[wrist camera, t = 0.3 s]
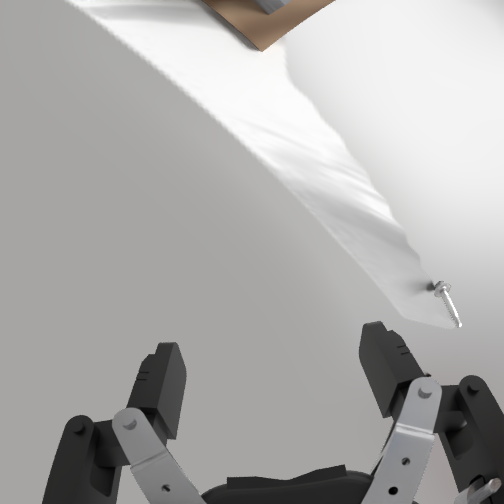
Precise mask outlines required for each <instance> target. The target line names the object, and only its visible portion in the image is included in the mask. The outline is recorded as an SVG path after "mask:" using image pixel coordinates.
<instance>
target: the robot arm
mask: <svg viewBox="0 0 504 504" xmlns="http://www.w3.org/2000/svg"><path fill="white" fill-rule="evenodd" d="M359 358H360V362H361V365H362V367H363V369H364V372H365V374H366V377H367V379H368V381H369V384H370V386H371V389H372V391H373V394H374V396H375V398H376V401H377V404H378V406H379V409H380V411H381V413H382V416H383V418H387V417H390V416H392V418H393V420H394V422H393V424H392V426H391V429H390V431H389V434H388V436H387V438H386V441H385V443H384V445H383V448H382V450H381V452H380V454H379V456H378V459H377V460H376V462H375V464H374V466H373V468H372V470H371V471H370V473H369V474H366V473H363V472H358V471H347V470H346V468H345V465H339V466H334V467H329V468H324V469H319V470H315V471H312V472H310V473H307V474H304V475H301V476H299V477H296V478H293V479H290V480H278V479H270V478H263V477H256V476H255V477H227V484H223V485H220V486H217V487H214V488H212V489H210V490H208V491H207V492H205V493H203V494H201V493H200V492H199V491H198V489H197V488H196V487H195V486H194V485H193V483H192V482H191V481H190V480H189V478H188V477H187V476H186V474H185V473H184V472H183V470H182V469H181V468H180V466H179V465H178V464H177V462H176V461H175V460H174V458H173V457H172V455H171V454H170V452H169V451H168V449H167V448H166V444H167V439H176V436H177V429H178V423H179V418H180V411H181V405H182V400H183V395H184V389H185V384H186V368H185V364H184V361H183V359H182V356H181V353H180V350H179V347H178V344H177V343H176V342H172V343H159V344H158V347H157V349H156V353H155V354H149V355H148V356H147V357H146V358H145V359H144V361H143V362H142V363H141V366H140V369H139V373H138V375H137V377H136V381H135V383H134V386H133V389H132V392H131V395H130V398H129V401H128V404H127V407H126V408H125V409H122V410H121V411H119V412H118V413H117V414H116V415H115V416H114V418H113V419H112V420H107V421H101V422H93V421H92V420H91V419H90V418H89V417H87V416H84V415H79V416H75V417H73V418H71V419H70V420H69V421H68V422H67V424H66V426H65V429H64V431H63V435H62V438H61V440H60V443H59V446H58V449H57V452H56V455H55V459H54V461H53V465H52V468H51V471H50V475H49V478H48V482H47V486H46V489H45V494H44V498H43V501H42V504H116V501H117V494H118V488H119V481H120V476H121V470H122V466H125V465H131V466H132V467H131V468H130V469H131V472H132V474H133V476H134V478H135V479H136V481H137V483H138V485H139V486H140V488H141V490H142V491H143V493H144V495H145V496H146V498H147V500H148V501H149V503H150V504H418V503H417V502H415V501H413V499H414V497H415V494H416V492H417V490H418V487H419V485H420V482H421V479H422V476H423V474H424V471H425V468H426V465H427V462H428V459H429V456H430V453H431V449H432V446H433V443H434V438H435V435H434V434H433V433H438V435H439V437H440V440H441V442H442V445H443V448H444V450H445V453H446V456H447V458H448V461H449V464H450V467H451V470H452V473H453V476H454V479H455V482H456V485H457V488H458V491H459V494H458V496H457V497H456V499H455V501H454V504H504V414H503V412H502V411H501V409H500V407H499V405H498V403H497V402H496V400H495V398H494V396H493V395H492V393H491V391H490V390H489V388H488V386H487V384H486V383H485V381H484V380H483V379H481V378H480V377H478V376H474V375H469V376H466V377H464V378H463V379H462V380H461V382H460V383H459V385H450V386H441V385H440V384H439V383H438V382H437V381H436V380H434V379H432V378H429V377H425V375H424V373H423V372H422V370H421V368H420V367H419V365H418V363H417V362H416V360H415V358H414V357H413V355H412V354H411V353H410V350H409V349H408V347H407V346H406V344H405V342H404V340H403V339H402V337H401V336H400V335H398V334H397V333H396V332H394V331H393V330H391V331H387V330H386V328H385V326H384V325H383V323H382V322H381V321H377V322H372V323H366V324H364V325H363V329H362V336H361V341H360V347H359Z"/></svg>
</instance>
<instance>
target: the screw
mask: <svg viewBox="0 0 504 504" xmlns="http://www.w3.org/2000/svg"><path fill="white" fill-rule="evenodd" d="M450 287H451V286H450V284H449V283H444V281H439V282H438V283H437V284H436V285H435V288H436V290H435V292H434V295H435V297H442V298H443V300H444V302H445V304H446V306H447V308H448V310H449V312H450V314H451V316H452V318H453V320H454V321H455V324H456V326H457V327H461V322H460V319H459V317H458V314H457V312H456V310H455V308H454V307H455V306H453V302H452V301H451V299H450V297H449V295H448V292H449V290H450Z"/></svg>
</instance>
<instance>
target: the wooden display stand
mask: <svg viewBox="0 0 504 504" xmlns="http://www.w3.org/2000/svg"><path fill="white" fill-rule="evenodd" d="M202 1H204V2H205V3H206V4H208V5H209V6H210V7H211V8H213V9H214V10H215V11H216V12H218V13H219V14H220V15H221V16H222V17H224V18H225V19H226V20H227V21H228V22H229V23H231V24H232V25H233V26H234V27H235V28H236V29H238V30H239V31H240V32H241V33H242V34H243V35H244V36H245V37H246V38H248V39H249V40H250V41H251V42H252V43H253V44H254V45H255V46H256V47H257V48H258V49H259V50H260V51H261V52H263V51H264V50H265V49H267V48H268V47H269V46H270V45H272V44H273V43H274V42H276V41H277V40H278V39H279V38H281V37H282V36H283V35H285V34H286V33H287V32H289V31H290V30H291V29H293V28H294V27H296V26H297V25H299V24H300V23H301V22H303V21H304V20H306V19H307V18H308V17H310V16H312V15H313V14H315V13H316V12H318V11H319V10H320V9H322V8H324V7H325V6H327V5H328V4H330V3H332V2H333V1H335V0H202Z"/></svg>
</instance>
